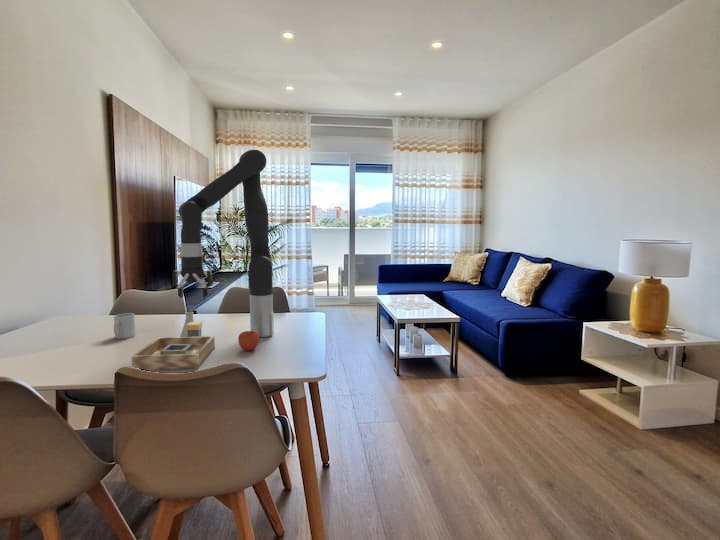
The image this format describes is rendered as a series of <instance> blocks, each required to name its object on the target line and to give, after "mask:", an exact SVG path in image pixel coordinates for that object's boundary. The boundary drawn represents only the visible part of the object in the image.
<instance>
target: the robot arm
mask: <svg viewBox="0 0 720 540" xmlns="http://www.w3.org/2000/svg"><path fill="white" fill-rule="evenodd" d="M266 166H267V157H266V155H265V154H264V153H263V152H262V150H260V149H255V148H254V149H249V150H247V151H245V152H243V153H242V154H241V155H240V157H239V160H238V162H237V163H236V164H235V165H234V166H232V168H230V169H229V170H228V171H226V172H225V173H223V174H221V175H220V176H218V177H217V178H215V179H214V180H212V181H210V183H208V184H207V185H206V186H205V187H203V188H202V189H201V190H199V192H198V193H196V194H195V195H193V196H191V197H190V198H189V199H187V200H186V201H184V202H183V203H182V204H180V206H179V208H178V215H179V216H180V218H181V226H182V227H181V230H180V242H181V243H180V264H181V265H180V266H181V270H177V269H176V270H172V276H171V277H172V278H171V279H172V281H171V285H172V287H175V288H177V295H178V297H179V298H180V299H184V297H185V295H184V287H183V286H184V285H185V284H186V283H197V282H198V284H200V285H201V286H202V293H203V294H202V297H203V298H207V296H208V295H209V287H211V286H213V285H214V282H213V281H214V280H213V271H212V270H211V269H208V270H204V266H203V263H204V262H203V247H202V232H201V231H202V230H201V229H202V221H203V219H202V218H203V215H202V213H203V212H205V211H206V210H208V208H211V207H213V206H215V205H216V204H217V203H218V202H220V200H222V199H223V198H224V197H225V196H226V195H228V194H229V193H230V192H231V191H233V190H234V189H235V188H236V187H237V186H239V185H240V184H242V188H243V190H242V191H243V193H242V194H243V207H244V208H243V210H244V211H243V212H244V219H245V227H246V232H247V237H248V240H249V244H250V262H249V264H248V285H249V286H248V289H249V314H250V316H249V318H250V319H249V321H250V322H249V323H250V325H249V326H250V330H249V331H254V332H256V333H257V334H258V335H259V338H267V337H273V336H274V333H275V328H274V327H275V326H274V325H275V324H274V323H275V322H274V321H275V319H274V317H275V316H274V315H275V314H274V309H273V307H274V304H273V303H274V300H273V294H274V293H273V290H274V288H273V262H272V258H271V252H270V248H269V230H270V229H269V226H270V225H269V223H270V222H269V211H268V204H267V202H266V199H265V195H264V192H263V189H262V186H261V185H262V184H261V172H262V171H263V170H264V169H265V168H266ZM204 275H205V277H206V278H207V282H206V280H205V279H204V278H203V276H204ZM179 276H181V277H182V279H181V280H180V282H179ZM252 329H253V330H252Z"/></svg>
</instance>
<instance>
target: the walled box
mask: <svg viewBox="0 0 720 540" xmlns="http://www.w3.org/2000/svg"><path fill="white" fill-rule="evenodd" d="M215 338H216V337H215V336H212V335H211V336H210V335H209V336H205V335H204V336H202V337H180V336H163V337H162V336H161V337H160V336H158V337H157V338H155V339H154V340H152V341H151V342H150V343H148V344H147V345H145V346H144V347H143V348H141V349H140V350H139V351H137V352H135V353H134V354H133V355H132V356H131V368H132V367H134V368H139V369H144V370H143V371H154V370H155V371H156V370H158V371H159V370H187V369H188V370H193V369H195V370H196V369H199V368H200V367H201V366H202V365H203V364H204V362H205V361H206V359H208V358H209V356H210V355H211V354H212V352H213V351H214V350H215V348H216V346H215V345H216V340H215ZM169 344H192V350H193V352H192V353H191V354H173V355H160V351H161V350H162V349H164V348H165V347H166V346H167V345H169Z"/></svg>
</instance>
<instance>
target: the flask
mask: <svg viewBox="0 0 720 540" xmlns="http://www.w3.org/2000/svg"><path fill="white" fill-rule="evenodd" d="M184 315H185V322H184V325H183V327H182V329H181V334H180V336H179V337H188V333H187V330H186V325H187V324H188V323H189V322H195V319H194V311H186V312H184Z"/></svg>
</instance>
